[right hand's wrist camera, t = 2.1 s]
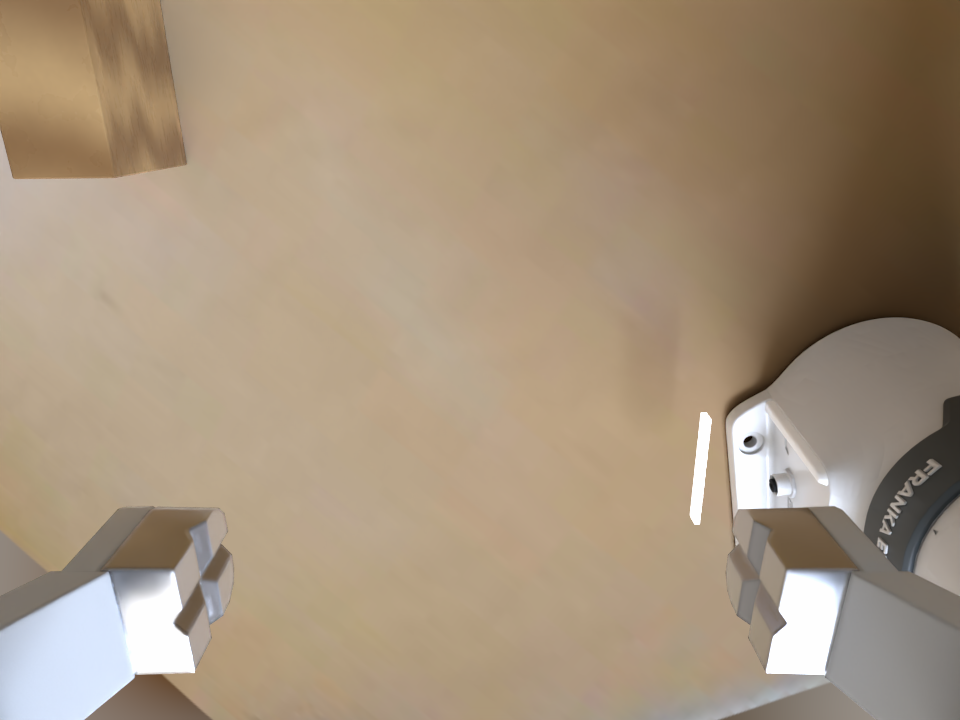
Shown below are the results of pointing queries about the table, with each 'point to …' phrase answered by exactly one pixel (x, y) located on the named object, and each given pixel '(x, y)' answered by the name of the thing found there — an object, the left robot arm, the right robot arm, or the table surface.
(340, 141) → the table surface
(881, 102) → the table surface
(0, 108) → the bar
